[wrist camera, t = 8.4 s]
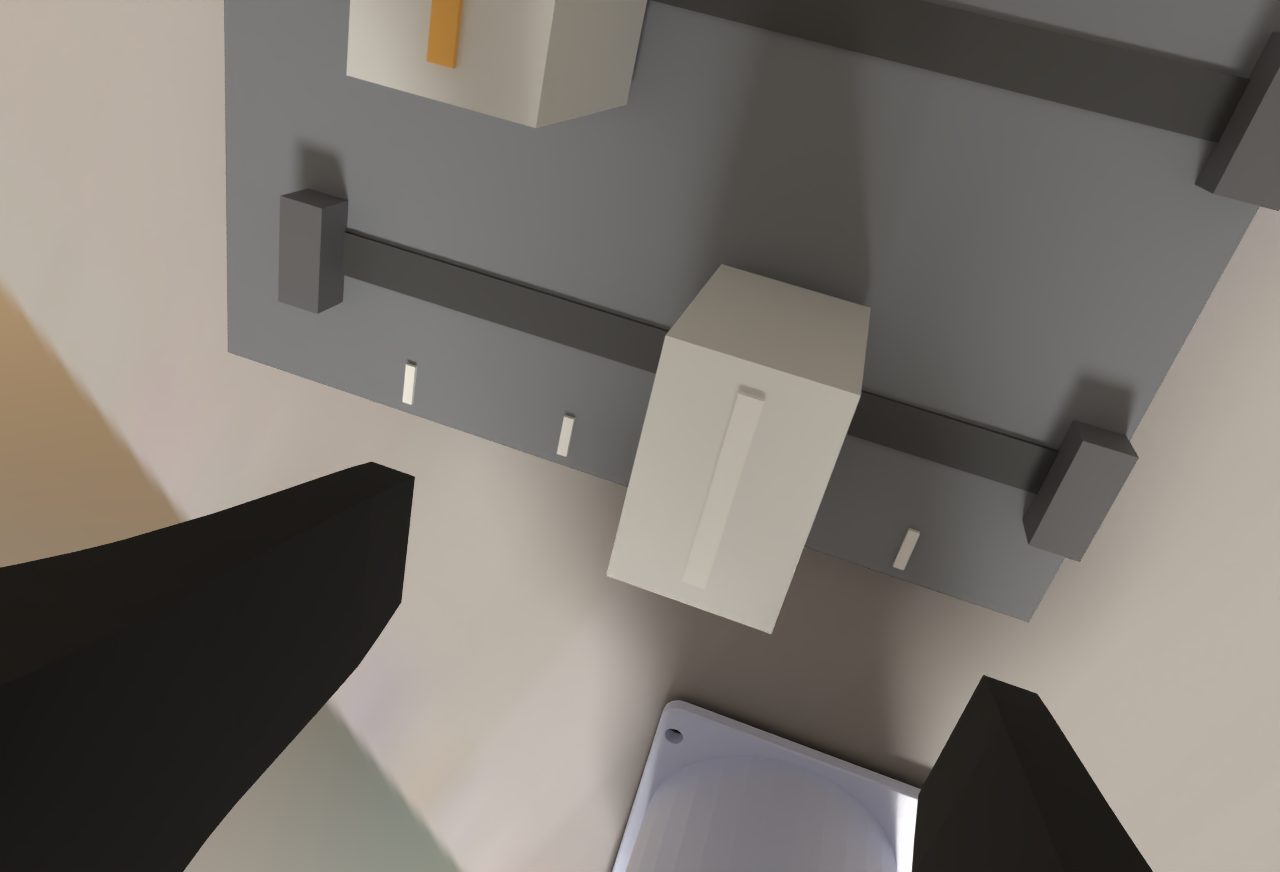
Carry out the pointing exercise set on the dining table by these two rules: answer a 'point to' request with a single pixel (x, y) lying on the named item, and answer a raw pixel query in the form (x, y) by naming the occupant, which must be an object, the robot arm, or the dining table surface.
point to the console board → (781, 241)
